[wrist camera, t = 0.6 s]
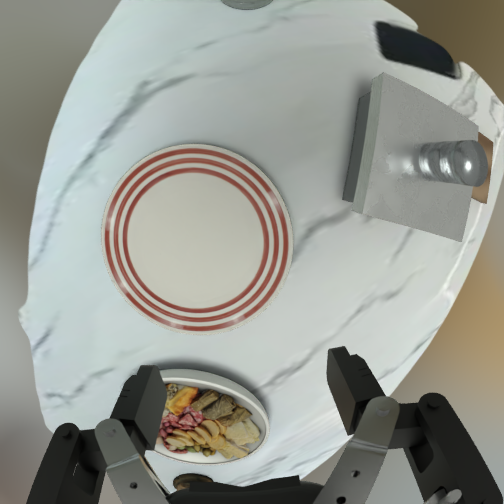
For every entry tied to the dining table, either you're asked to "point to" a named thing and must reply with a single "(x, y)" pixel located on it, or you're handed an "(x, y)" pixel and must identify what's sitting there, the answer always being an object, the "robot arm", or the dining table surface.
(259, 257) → the dinner plate
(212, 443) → the bowl
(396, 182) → the pan
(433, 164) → the cylinder
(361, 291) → the dining table surface
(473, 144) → the cylinder
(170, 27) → the dining table surface
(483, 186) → the walnut board
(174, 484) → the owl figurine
